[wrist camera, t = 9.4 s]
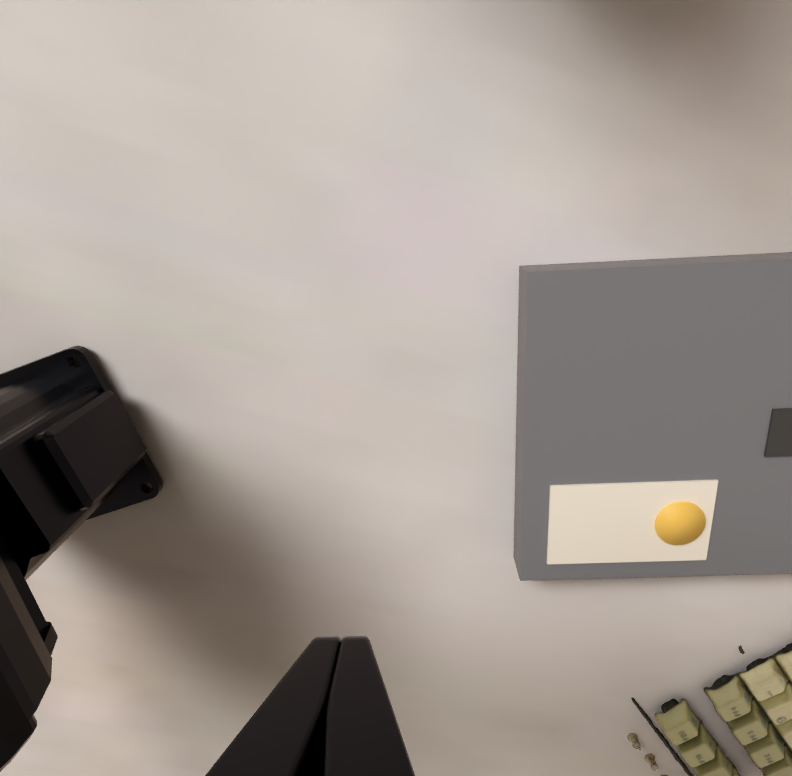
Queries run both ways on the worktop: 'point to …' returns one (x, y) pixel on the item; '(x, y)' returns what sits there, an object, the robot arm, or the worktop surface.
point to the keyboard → (735, 720)
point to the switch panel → (654, 418)
